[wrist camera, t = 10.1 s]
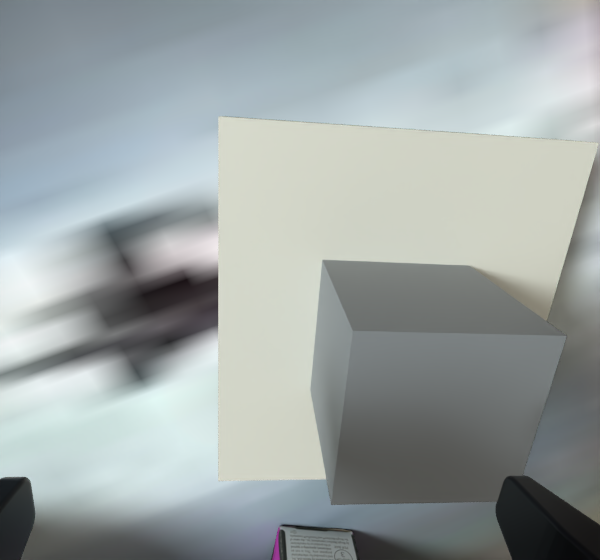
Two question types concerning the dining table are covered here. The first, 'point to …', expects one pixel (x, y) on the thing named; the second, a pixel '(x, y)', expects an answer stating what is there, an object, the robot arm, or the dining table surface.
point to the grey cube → (425, 382)
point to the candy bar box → (314, 544)
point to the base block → (362, 250)
